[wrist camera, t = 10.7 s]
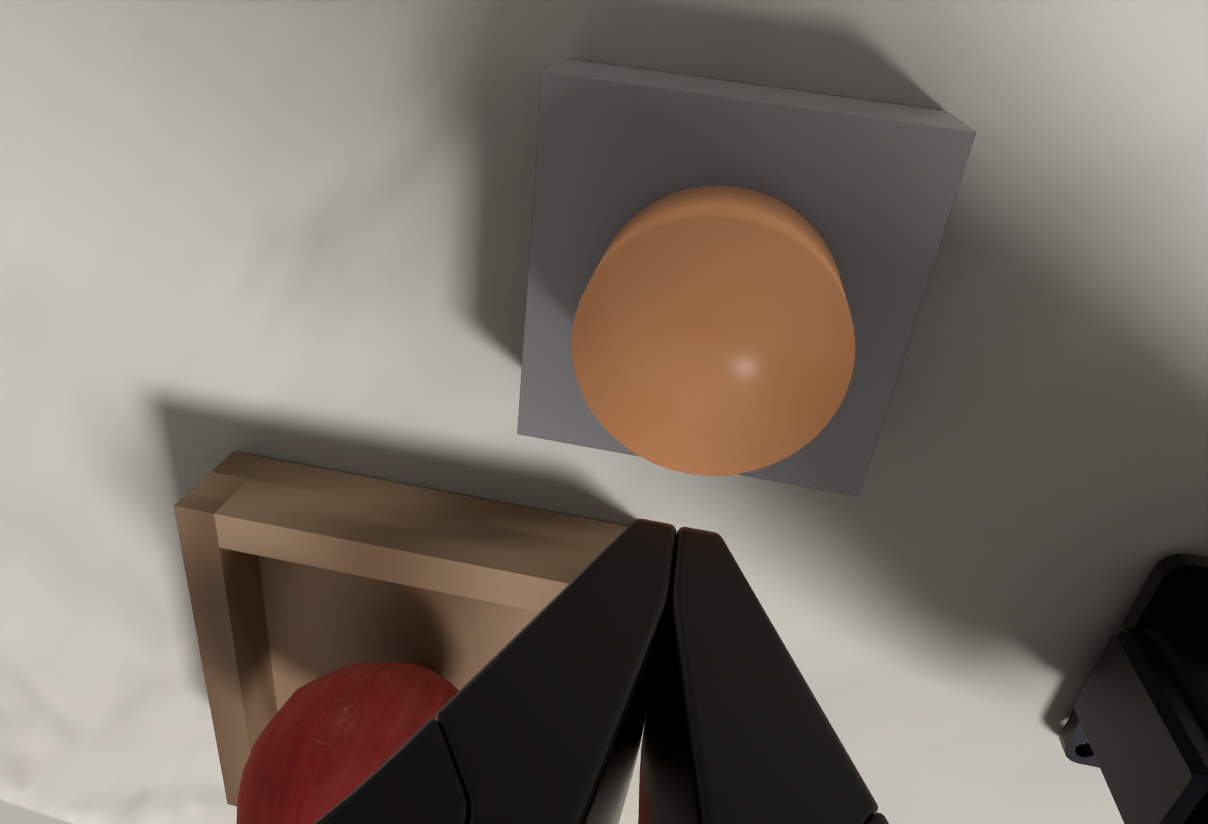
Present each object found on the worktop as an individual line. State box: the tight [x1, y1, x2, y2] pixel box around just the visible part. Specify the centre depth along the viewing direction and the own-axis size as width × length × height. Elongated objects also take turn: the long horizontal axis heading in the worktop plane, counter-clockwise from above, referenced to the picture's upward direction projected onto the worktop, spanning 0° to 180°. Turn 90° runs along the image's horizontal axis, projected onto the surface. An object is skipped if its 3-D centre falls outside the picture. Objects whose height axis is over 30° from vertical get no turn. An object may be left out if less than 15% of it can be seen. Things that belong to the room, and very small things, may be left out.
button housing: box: [517, 59, 976, 496], centre depth 16 cm, size 7×7×2 cm
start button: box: [571, 185, 855, 475], centre depth 14 cm, size 4×4×2 cm
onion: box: [237, 662, 459, 824], centre depth 19 cm, size 6×6×8 cm
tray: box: [174, 452, 628, 806], centre depth 22 cm, size 11×11×2 cm
